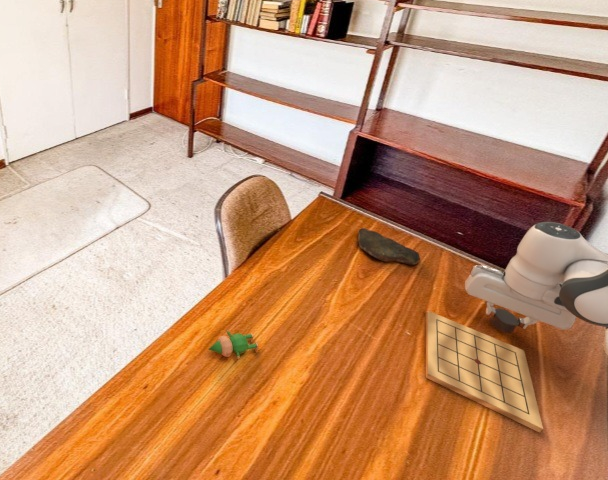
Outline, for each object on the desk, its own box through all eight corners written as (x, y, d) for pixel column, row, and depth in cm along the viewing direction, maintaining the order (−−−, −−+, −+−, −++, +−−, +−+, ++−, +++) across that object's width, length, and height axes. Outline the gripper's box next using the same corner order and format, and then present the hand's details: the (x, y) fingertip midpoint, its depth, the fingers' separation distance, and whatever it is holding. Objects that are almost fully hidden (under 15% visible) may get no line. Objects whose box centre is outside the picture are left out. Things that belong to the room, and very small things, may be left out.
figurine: (259, 360, 93) (211, 369, 90) (247, 333, 99) (201, 341, 96) (263, 347, 91) (214, 357, 88) (250, 321, 97) (204, 329, 94)
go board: (521, 354, 96) (524, 350, 95) (539, 433, 81) (543, 428, 80) (425, 314, 105) (427, 310, 105) (425, 377, 90) (428, 373, 89)
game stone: (512, 322, 102) (517, 314, 101) (515, 337, 99) (520, 328, 97) (488, 312, 105) (492, 305, 104) (490, 327, 101) (495, 319, 100)
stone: (419, 258, 124) (422, 251, 123) (412, 279, 116) (415, 271, 115) (359, 232, 134) (361, 225, 133) (349, 250, 126) (351, 243, 125)
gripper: (476, 270, 98) (456, 309, 103) (589, 309, 88) (560, 350, 94) (474, 254, 102) (455, 292, 108) (580, 290, 93) (553, 330, 99)
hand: (504, 319), depth 101 cm, fingers closed on game stone, 5 cm apart
